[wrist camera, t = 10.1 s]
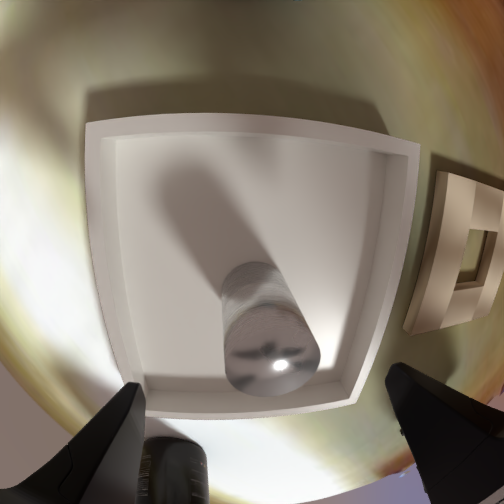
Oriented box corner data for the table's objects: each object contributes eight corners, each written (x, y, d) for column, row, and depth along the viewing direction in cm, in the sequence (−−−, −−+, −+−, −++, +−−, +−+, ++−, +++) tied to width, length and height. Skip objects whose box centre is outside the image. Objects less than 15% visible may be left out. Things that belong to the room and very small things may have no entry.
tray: (344, 382, 19) (355, 403, 17) (141, 390, 17) (136, 415, 15) (393, 143, 14) (420, 144, 11) (106, 127, 12) (85, 122, 9)
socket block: (481, 309, 20) (488, 314, 19) (402, 327, 18) (410, 335, 17) (509, 194, 16) (518, 197, 15) (436, 170, 14) (448, 172, 13)
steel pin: (282, 317, 16) (311, 392, 10) (221, 319, 15) (225, 399, 10) (289, 261, 15) (328, 324, 9) (221, 261, 14) (224, 329, 9)
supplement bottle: (161, 465, 22) (158, 552, 11) (127, 436, 20) (112, 539, 8) (217, 460, 22) (226, 555, 11) (190, 431, 20) (191, 550, 9)
